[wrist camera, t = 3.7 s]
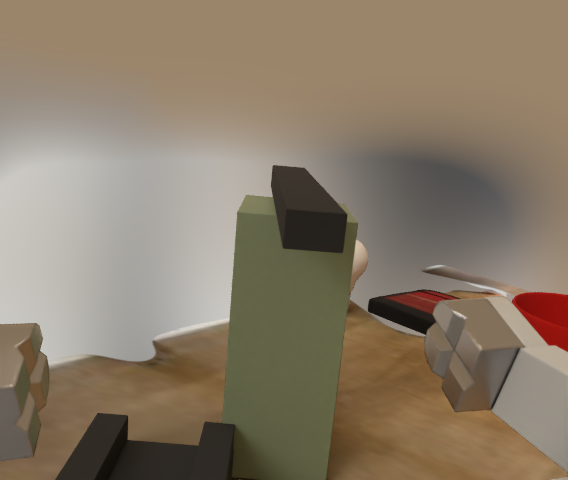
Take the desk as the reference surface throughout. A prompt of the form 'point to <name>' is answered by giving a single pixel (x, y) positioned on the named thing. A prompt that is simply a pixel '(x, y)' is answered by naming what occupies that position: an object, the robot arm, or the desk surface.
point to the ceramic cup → (546, 315)
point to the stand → (284, 347)
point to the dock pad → (148, 454)
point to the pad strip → (306, 212)
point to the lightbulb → (358, 264)
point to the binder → (409, 308)
